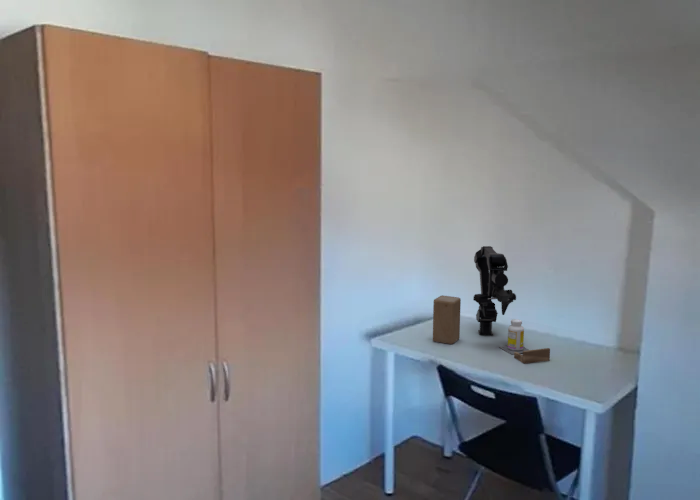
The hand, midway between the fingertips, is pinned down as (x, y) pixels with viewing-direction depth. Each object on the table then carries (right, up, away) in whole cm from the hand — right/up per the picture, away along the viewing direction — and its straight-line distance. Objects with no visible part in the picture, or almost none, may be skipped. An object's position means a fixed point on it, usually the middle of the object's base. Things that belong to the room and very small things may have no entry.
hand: (494, 315), depth 270 cm
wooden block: (-21, -12, +7) cm, 25 cm away
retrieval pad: (+8, -14, -7) cm, 18 cm away
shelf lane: (+11, -16, -18) cm, 27 cm away
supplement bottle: (+8, -14, -7) cm, 17 cm away
